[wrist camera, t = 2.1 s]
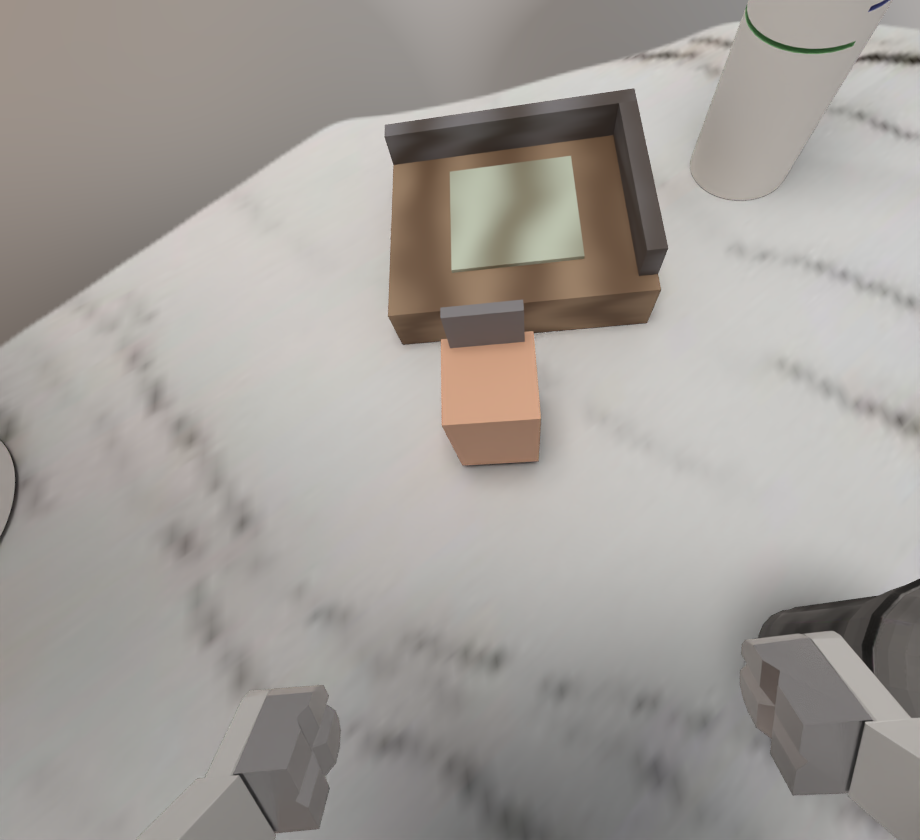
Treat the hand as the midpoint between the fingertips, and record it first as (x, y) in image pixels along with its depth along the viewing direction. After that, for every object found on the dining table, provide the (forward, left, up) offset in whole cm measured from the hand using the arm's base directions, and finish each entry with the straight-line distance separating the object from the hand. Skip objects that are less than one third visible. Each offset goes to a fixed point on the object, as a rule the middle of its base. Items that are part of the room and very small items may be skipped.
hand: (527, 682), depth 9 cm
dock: (+1, +27, -21) cm, 34 cm away
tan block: (-1, +12, -21) cm, 24 cm away
